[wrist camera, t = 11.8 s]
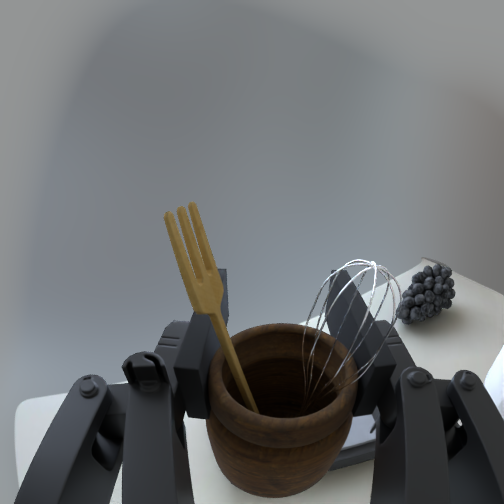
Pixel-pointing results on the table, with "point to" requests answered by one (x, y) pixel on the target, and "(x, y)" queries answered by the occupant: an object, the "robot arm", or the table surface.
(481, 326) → the table surface
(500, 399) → the can
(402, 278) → the table surface
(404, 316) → the fruit
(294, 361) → the utensil holder
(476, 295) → the table surface
